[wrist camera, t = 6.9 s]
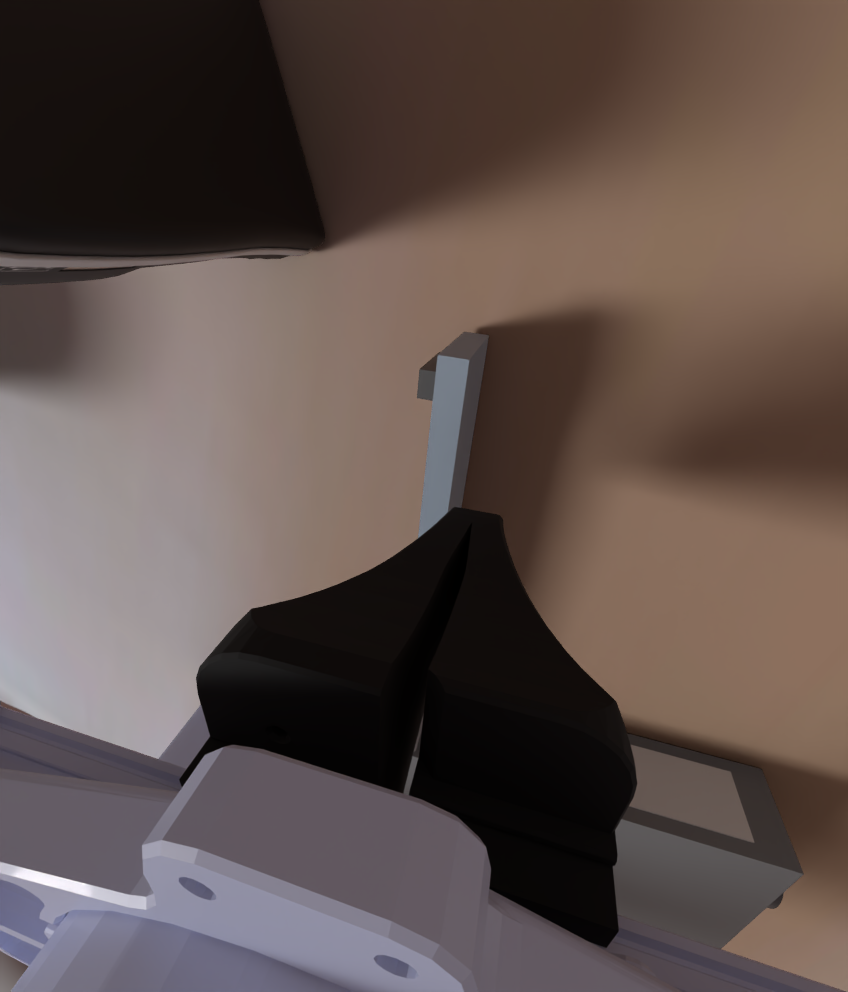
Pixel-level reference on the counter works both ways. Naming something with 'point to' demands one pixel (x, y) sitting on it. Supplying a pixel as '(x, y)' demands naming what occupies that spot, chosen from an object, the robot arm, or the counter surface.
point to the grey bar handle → (450, 425)
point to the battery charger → (144, 139)
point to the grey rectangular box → (697, 844)
